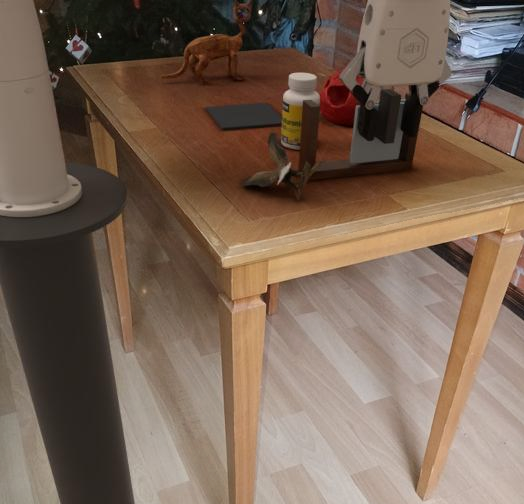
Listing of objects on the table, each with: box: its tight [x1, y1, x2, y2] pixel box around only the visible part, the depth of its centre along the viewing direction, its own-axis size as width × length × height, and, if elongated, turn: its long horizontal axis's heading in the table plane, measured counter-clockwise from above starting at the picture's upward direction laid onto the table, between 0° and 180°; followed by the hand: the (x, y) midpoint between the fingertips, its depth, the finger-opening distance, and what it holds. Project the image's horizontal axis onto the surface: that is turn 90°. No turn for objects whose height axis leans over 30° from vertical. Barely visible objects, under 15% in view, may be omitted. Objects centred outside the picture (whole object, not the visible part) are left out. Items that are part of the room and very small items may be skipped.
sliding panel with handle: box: [349, 88, 405, 164], centre depth 81 cm, size 7×4×10 cm, turn 108°
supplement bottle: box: [280, 72, 320, 151], centre depth 90 cm, size 5×5×10 cm
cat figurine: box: [160, 0, 253, 83], centre depth 115 cm, size 18×7×14 cm, turn 111°
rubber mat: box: [205, 102, 282, 131], centre depth 103 cm, size 11×11×1 cm
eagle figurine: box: [243, 131, 323, 201], centre depth 78 cm, size 8×7×9 cm
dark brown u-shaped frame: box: [297, 92, 421, 181], centre depth 83 cm, size 16×3×10 cm, turn 108°
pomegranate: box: [318, 60, 365, 126], centre depth 100 cm, size 10×10×9 cm
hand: (387, 134), depth 80 cm, fingers open, 5 cm apart
